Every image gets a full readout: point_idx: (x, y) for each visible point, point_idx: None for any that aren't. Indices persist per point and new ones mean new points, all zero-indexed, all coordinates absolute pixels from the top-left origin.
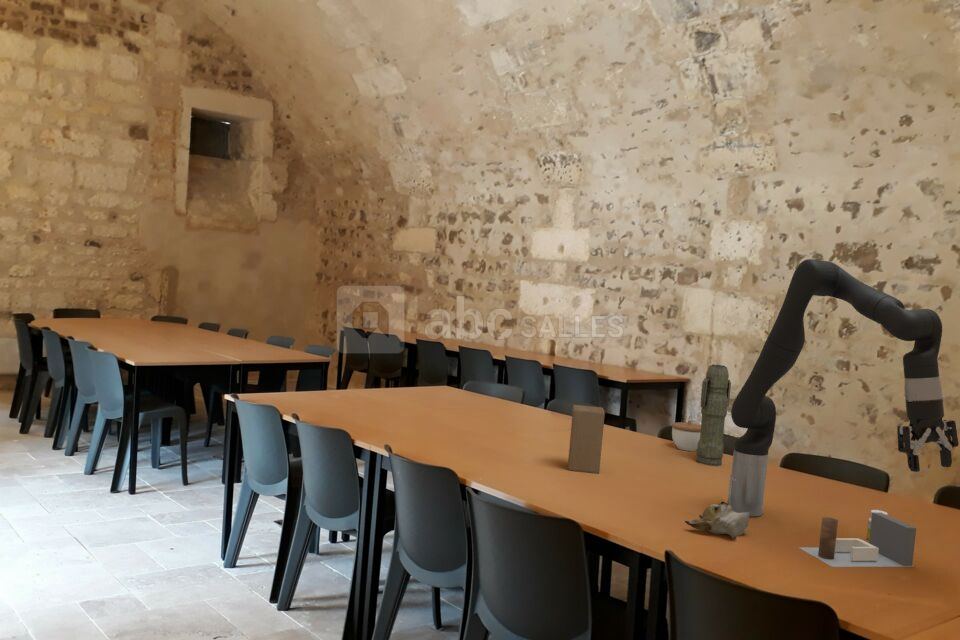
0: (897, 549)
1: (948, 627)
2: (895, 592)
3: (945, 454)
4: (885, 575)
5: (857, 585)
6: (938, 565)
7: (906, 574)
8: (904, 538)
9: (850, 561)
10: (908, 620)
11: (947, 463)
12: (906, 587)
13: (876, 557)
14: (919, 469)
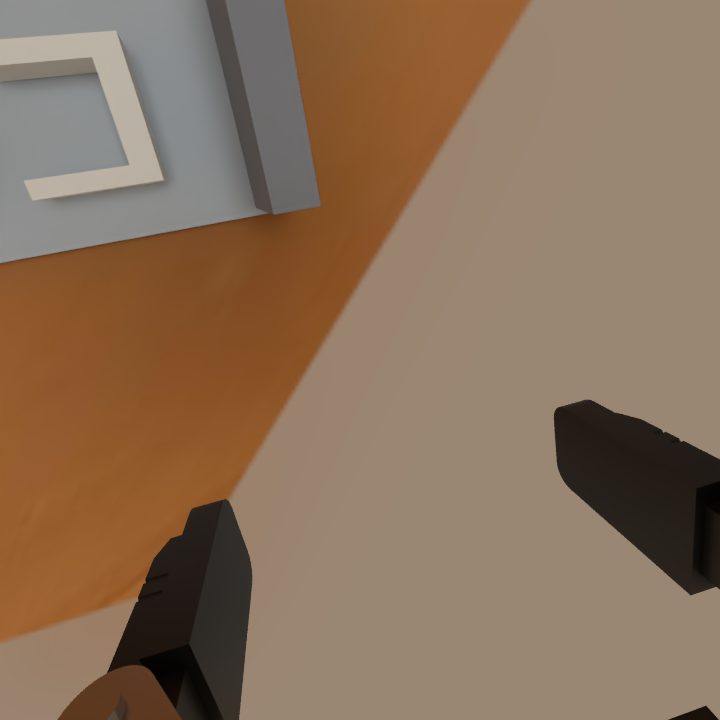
0: (251, 170)
1: None
2: (138, 403)
3: (652, 533)
4: (168, 265)
5: (21, 379)
6: (412, 131)
7: (251, 241)
8: (265, 202)
9: None
10: (95, 566)
11: (580, 488)
12: (194, 356)
13: (161, 181)
14: (248, 585)
